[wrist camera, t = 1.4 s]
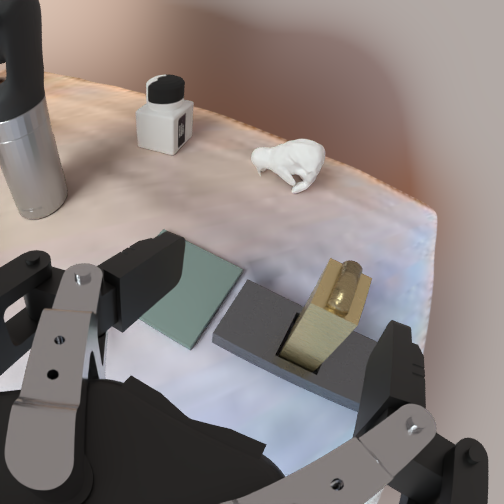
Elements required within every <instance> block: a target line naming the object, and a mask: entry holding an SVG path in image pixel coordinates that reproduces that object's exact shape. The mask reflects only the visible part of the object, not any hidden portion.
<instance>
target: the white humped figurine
mask: <svg viewBox="0 0 504 504" xmlns="http://www.w3.org/2000/svg"><path fill="white" fill-rule="evenodd" d="M324 160H325V150H324V148H323V146H322V145H320V144H318V143H316V142H314V141H312V140H307V139H297V140H292V141H287V142H286V143H284V144H279V145H278V146H276V147H272V148H268V147H258V148H256V149H255V150H254V151H253V153H252V155H251V161H252V163H253V164H254V165H255V167H256V168H257V170H258V173H259V174H260V173H261V172H260V171H265V170H266V169H269V170H272V171H273V172H274V173H276V174H278V175H279V176H280V177H281V178H282V179H283V180H284V181H286V182H287V183H288V184H290V185H292V186H293V188H292V193H294V194H295V193H299V192H302V191H303V190H306V189H308V187H309V186H310V185H311V184H312V183H313V182H314V181H315V179H316V176H317V175H318V173H319V172H320V169H321V167H322V165H323V163H324ZM295 174H297V175H300V178H301V179H302V180H303V181H302V182H298V183H296V182H295V180H294V179H293V177H292V175H295ZM260 176H261V175H260ZM295 183H296V184H295Z"/></svg>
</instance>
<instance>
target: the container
mask: <svg viewBox="0 0 504 504" xmlns="http://www.w3.org/2000/svg"><path fill="white" fill-rule="evenodd" d="M184 85H185V82H184V80H183V79H182V78H181V77H178V76H175V75H159V76H156V77H153V78H151V79H150V80H149V81H148V82H147V83H146V102H147V103H146V104H145V105H144V106H142V107H141V108H139V109H138V110H137V111H136V126H137V141H138V147H141V148H145V149H149V150H153V151H157V152H161V153H165V154H169V155H174V154H175V153H176V152H177V151H178V150H179V149H180V148H181V147H182V146H183V145H184V144H185V143H186V142H187V141H188V139H189V138H190V137H191V136H192V123H193V104H194V103H193V102H192V101H188V100H184Z"/></svg>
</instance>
